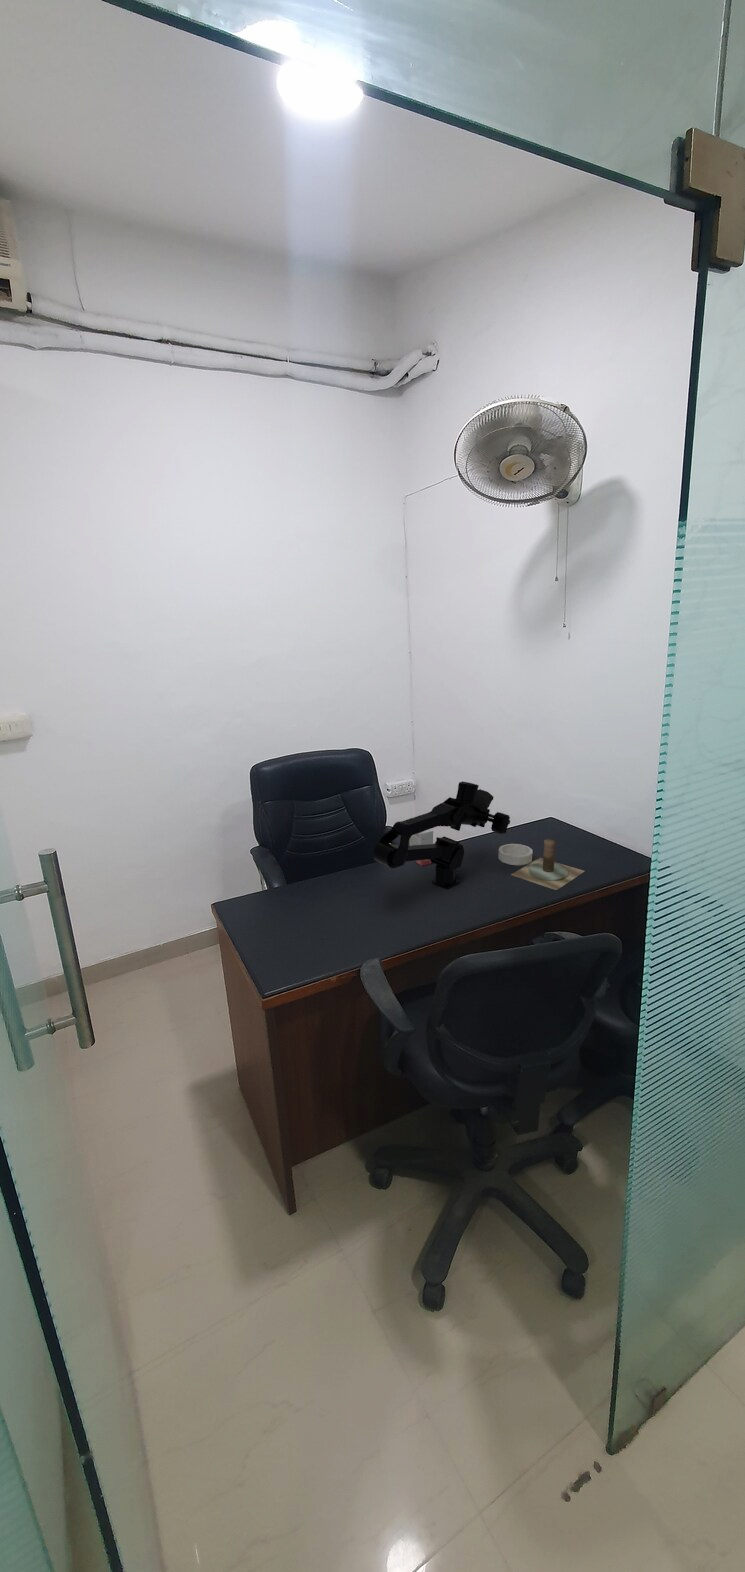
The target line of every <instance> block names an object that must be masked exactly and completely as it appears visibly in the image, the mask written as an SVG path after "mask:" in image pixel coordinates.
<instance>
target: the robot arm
mask: <svg viewBox="0 0 745 1572" xmlns="http://www.w3.org/2000/svg"><path fill="white" fill-rule="evenodd" d="M479 787H480V786H479V784H477V783H476V784H475V783H472V782H467V781H460V782H458V786H457V791H456V792H457V793H456V798H454V797H450V796H449V797H448V798H446V799H445V800H444V801H443V802H441V803H439V804H437V805H435V806H434V807H432V809H431V811H428V812H426V813H423V814H420V815H417V816H413V817H410V818H411V819H410V818H408V819H405V820H401V821H396V822H395V823H393V826H392V828H390V830H389V831H387V832H386V833H385V834H383V835H382V836H381V837H380V838H379V840H378V842H377V843H376V845H375V846H374V847H373V848H374V849H373V853H372V855H373V859H374V861H375V862H377V863H380V864H382V865H384V866H387V867H388V868H390V869H395V868H396V869H397V868H399V867H402V866H404V865H405V864H406V863H407V862H415V861H417V860H428V859H430V861H431V863H432V864H434V865H435V879H433V880H432V881H431V883H432V884H434V885H436V886H438V887H440V888H443V889H446V890H448V889H450V888H452V887H454V886H456V885H458V884H460V883H461V881H460V880H459V879H457V869H459V868H461V867H462V863H463V860H464V856H465V848H464V844H461V843H460V841H457V840H455V839H452V838H450V837H446V836H442V837H438V836H437V837H436V838H435V839H436V840H435V842H433V844H427V845H412V846H410V843H409V839H410V838H411V836H412V835H415V834H417V833H420V832H423V831H426V830H429V829H430V830H432V829H434V828H436V827H449V828H450V829H452V830H455V831H458V832H459V831H460V830H461V829H462V828H461V826H462V825H465V826H471V827H474V828H476V827H477V826H478V827H480V828H485V826H486V824H487V822H490V823H492V824H491V831H492V832H494V833H495V834H499V835H506V833H507V830H508V827H509V825H510V824H511V820H510V818H511V817H510V815H508V814H507V813H506V814H505V813H503V812H499V811H496V812H495V814H491V813H490V812H491V809H490V808H489V807H490V805H491V803H492V802H493V800H494V795H492V793H490V792H489V791H487V790H483V789H481V788H480V789H479ZM398 837H399V839H400V840H399V845H398V844H393V843H392V842H394V841H395V839H397V838H398Z"/></svg>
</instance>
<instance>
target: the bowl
mask: <svg viewBox="0 0 745 1572" xmlns="http://www.w3.org/2000/svg"><path fill="white" fill-rule="evenodd" d="M533 850H534V849H532V848H531V847H529V846H528V845H524V844H521V843H508V844H503V845H501V846H499V847H498V858H497V859H498V860H499V861H501V862H502V863H504V864H507V865H511V866H512V865H513V866H524V865H525V866H526V865H528V864H530V863H532V862H533Z"/></svg>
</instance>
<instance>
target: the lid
mask: <svg viewBox="0 0 745 1572" xmlns="http://www.w3.org/2000/svg"><path fill="white" fill-rule="evenodd" d="M542 855H543V856H542V858H543V862H540V863H535V864H532V865H531V866H530V867H529V874H530V875H531V876H533V877H534V878H537V879H540V880H544V881H560V880H563V879H565V878H566V877H567V876H568V870H567V869H566V868H565V867H563V866H561V865H559V864H555V863H554V862H555V857H556V840H555V839H552V838H546V839H544V840H543V854H542Z"/></svg>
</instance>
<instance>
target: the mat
mask: <svg viewBox="0 0 745 1572" xmlns="http://www.w3.org/2000/svg"><path fill="white" fill-rule="evenodd" d="M540 862H543V857H539V858H537V859H535V860H533V861H532V862H530V863H528V864H526V865H525V866H523V867H522V868H520V869H518V870H517V871H515V872H513V873H511V874H510V875H511V876H513V877H516V878H519V879H522V880H525V881H527V882H530V883H534V884H537V885H538V886H539V885H540V886H542V887H545V888H548V889H551V890H555V891H557V890H559V889H560V888H562V887H564V886H565V885H567V884H568V883H570V882H571V881H573V880H574V879H576V878H577V877H579V876H580V875H582V874H583V873H585V871H586V870H583V869H579V868H576V867H573V866H570V865H566V864H563V863H559V862H558V861H557V862H556V861H554V863H555V864H559V865H561V866H563V867H565V868H566V869H567V870H568V876H567V877H566V878H565V879H563V880H560V881H544V880H540V879H537V878H534V877H533V876H531V875H530V874H529V867H530V866H531V865H532V864H535V863H540Z"/></svg>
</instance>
